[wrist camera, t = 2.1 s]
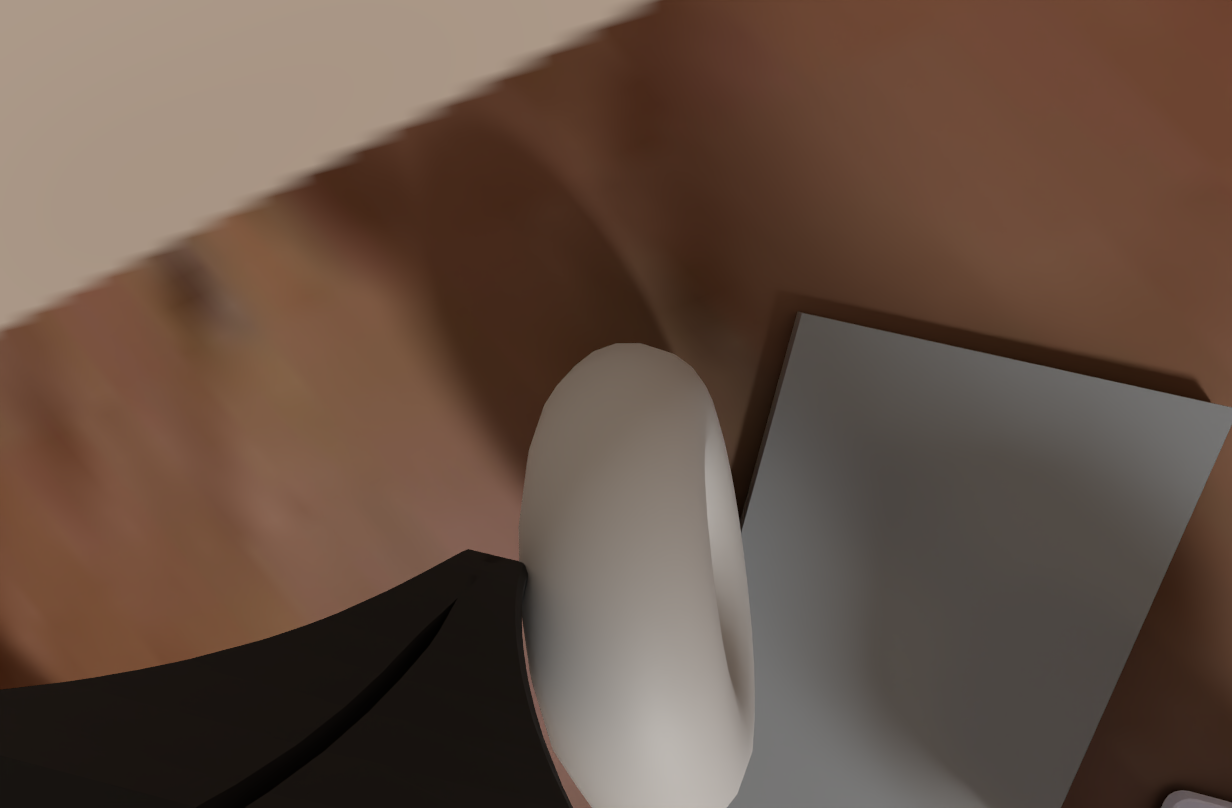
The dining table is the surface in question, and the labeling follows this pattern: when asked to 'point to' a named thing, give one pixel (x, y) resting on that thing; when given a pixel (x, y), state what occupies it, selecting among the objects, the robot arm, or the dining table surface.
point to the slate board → (951, 567)
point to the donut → (638, 585)
